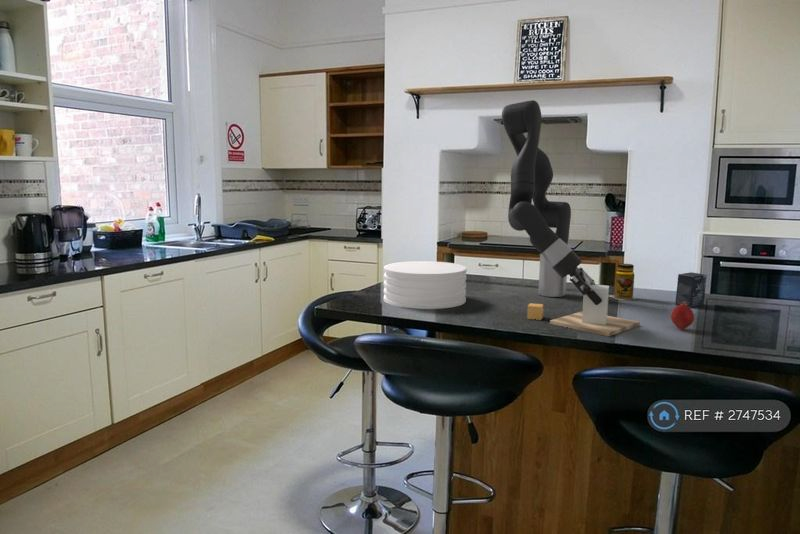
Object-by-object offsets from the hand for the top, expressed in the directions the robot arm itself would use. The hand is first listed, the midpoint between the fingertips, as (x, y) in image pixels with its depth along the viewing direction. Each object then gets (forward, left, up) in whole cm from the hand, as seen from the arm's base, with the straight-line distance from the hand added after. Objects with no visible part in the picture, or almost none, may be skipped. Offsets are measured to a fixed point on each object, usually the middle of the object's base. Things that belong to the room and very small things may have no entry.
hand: (600, 300), depth 166 cm
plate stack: (+13, -57, -8) cm, 59 cm away
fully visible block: (+7, -17, -7) cm, 20 cm away
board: (+1, -1, -7) cm, 7 cm away
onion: (-12, +18, -7) cm, 23 cm away
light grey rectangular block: (+1, -1, -6) cm, 6 cm away
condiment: (-42, -14, -8) cm, 45 cm away
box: (-47, +7, -7) cm, 49 cm away
